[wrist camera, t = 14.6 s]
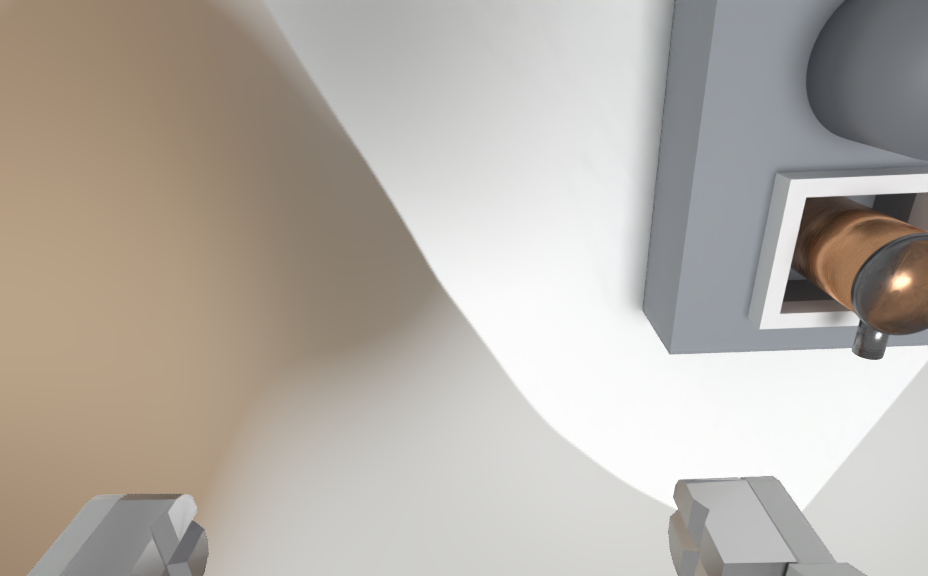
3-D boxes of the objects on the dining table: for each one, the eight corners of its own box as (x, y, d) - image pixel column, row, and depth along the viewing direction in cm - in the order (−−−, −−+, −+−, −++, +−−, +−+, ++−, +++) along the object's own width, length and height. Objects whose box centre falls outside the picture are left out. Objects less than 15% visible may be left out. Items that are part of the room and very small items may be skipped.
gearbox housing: (678, -32, 31) (777, -62, 21) (1003, -50, 30) (1262, -89, 21) (642, 310, 40) (699, 402, 30) (890, 301, 40) (1031, 391, 30)
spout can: (774, 191, 33) (872, 240, 25) (861, 186, 33) (989, 233, 25) (756, 298, 36) (838, 373, 28) (836, 294, 36) (942, 368, 28)
